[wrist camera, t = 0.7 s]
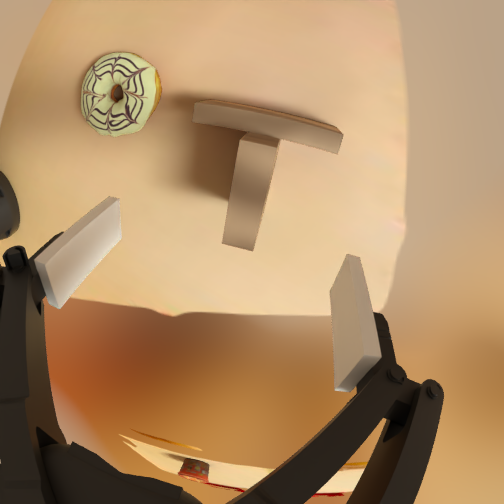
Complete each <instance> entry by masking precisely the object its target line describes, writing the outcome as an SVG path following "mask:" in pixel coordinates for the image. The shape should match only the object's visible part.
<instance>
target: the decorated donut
mask: <svg viewBox="0 0 504 504" xmlns="http://www.w3.org/2000/svg"><path fill="white" fill-rule="evenodd" d="M119 85H121V87H122V90H123V94H124V98H123V99H122V100H119V101H117V100H116V99H115V98H114V91H115V89H116V88H117V86H119ZM161 93H162V87H161V82H160V78H159V75H158V72H157V70H156V69H155V67H153V66H152V65H151V64H150V63H149V62H147V61H146V60H145V59H143V58H142V57H140V56H138V55H136V54H134V53H127V52H118V53H111V54H108V55H105V56H103V57H102V58H100V59H99V60H98V61H97V62H96V63H95V64H94V65H93V66H92V67H91V68H90V70H89V71H88V72H87V74H86V76H85V78H84V81H83V84H82V91H81V111H82V114H83V116H84V117H85V119H86V121H87V123H88V124H89V125H90V126H91V127H92V128H93V129H95V130H96V131H97V132H98V133H99V134H101V135H110V136H112V137H117V136H120V135H125V134H132V133H135V132H138V131H139V130H141V129H142V128H143V126H144V125H145V123H146V121H147V120H148V119H149V118H150V116H151V115H152V113H153V112H154V111H155V109H156V107H157V105H158V103H159V100H160V97H161Z"/></svg>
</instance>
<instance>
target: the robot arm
mask: <svg viewBox="0 0 504 504" xmlns="http://www.w3.org/2000/svg"><path fill="white" fill-rule="evenodd" d="M19 223H20V214H19V207H18V203H17V199H16V196H15V194H14V191H13V189H12V187H11V185H10V183H9V181H8V180H7V178H6V177H5V176H4V175H3V173H1V172H0V240H3V239H6V238H8V237H10V236H11V235H12V234H14V233H15V232H16V231H17V230H18V227H19ZM121 238H122V236H121V221H120V199H119V198H114V197H110V196H109V197H108V198H106V199H105V200H104V201H102V202H101V203H100V204H98V205H97V206H96V207H95V208H93V209H92V210H91V211H90V212H88V213H87V214H86V215H85V216H83V217H82V218H81V219H80V220H78V221H77V222H76V223H75V224H74V225H72V226H71V227H70V228H69V229H68V230H66V231H65V232H61V233H59V234H57V235H55V236H54V237H53V238H52V239H50V240H49V242H47V243H46V244H45V245H44V247H43V246H42V247H41V248H40V249H39V250H38V251H37V252H36V253H35V254H34V255H33V256H32V257H31V258H30V259H28V257H27V254H26V251H25V248H24V247H23V246H14V247H11V248H9V249H8V250H6V252H5V253H4V254H3V256H2V257H3V260H4V262H5V265H6V267H2V266H1V264H0V460H1V464H0V504H202V503H201V502H200V501H199V500H198V499H196V498H195V497H194V496H192V495H191V494H189V493H187V492H185V491H184V490H183V488H182V487H180V486H176V485H173V484H170V483H167V482H163V481H160V480H158V479H154V478H150V477H143V476H136V475H130V474H124V473H121V472H119V471H118V470H117V469H115V468H114V467H113V466H111V465H110V464H109V463H107V462H106V461H105V460H103V459H102V458H101V457H100V456H98V455H97V454H95V453H94V452H91V451H89V450H87V449H86V448H84V447H82V446H80V445H78V444H77V443H74V442H72V443H71V445H69V444H67V443H66V439H65V437H64V435H63V433H62V431H61V429H60V428H59V425H58V422H57V417H56V413H55V408H54V403H53V397H52V392H51V386H50V379H49V371H48V364H47V354H46V342H45V327H44V304H43V301H42V299H43V298H44V297H45V296H46V297H47V300H48V302H49V304H50V305H52V306H54V307H56V308H58V309H60V308H61V307H62V306H63V304H64V303H65V302H66V301H67V300H68V298H69V297H70V296H71V295H72V293H73V292H74V291H75V290H76V289H77V287H78V286H79V285H80V284H81V283H82V281H83V280H84V279H85V278H86V277H87V276H88V275H89V273H90V272H91V271H92V270H93V269H94V268H95V267H96V265H97V264H98V263H99V262H100V261H101V260H102V259H103V258H104V257H105V255H106V254H107V253H108V252H109V251H110V250H111V249H112V248H113V247H114V246H115V245H116V244H117V243H118V241H119V240H120V239H121ZM330 301H331V315H332V331H333V350H334V351H333V352H334V386H335V387H334V388H335V390H336V391H345V392H351V391H352V390H353V389H354V388H355V386H356V387H357V394H356V395H355V396H354V397H353V398H352V399H351V400H350V401H349V402H348V403H347V404H346V406H345V407H344V408H343V409H342V410H341V411H340V412H339V413H338V414H337V415H336V416H335V417H334V418H333V419H332V420H331V421H330V422H329V423H328V424H327V425H326V426H325V427H324V428H323V429H322V430H320V432H318V433H317V434H316V435H315V436H314V437H313V438H312V439H311V440H310V441H308V442H307V443H306V444H305V445H304V446H303V447H302V448H301V449H299V450H298V451H297V452H296V453H295V454H294V455H292V456H291V457H290V458H289V459H288V460H286V461H285V462H284V463H283V464H281V465H280V466H279V467H278V468H276V469H275V470H274V471H272V472H271V473H270V474H269V475H267V476H266V477H265V478H263V479H262V480H261V481H259V482H258V483H256V484H255V485H254V486H252V487H251V488H249V489H248V490H246V491H245V492H243V493H242V494H240V495H239V496H237V497H235V498H234V499H232V500H231V501H229V502H227V503H226V504H304V503H305V502H306V501H307V500H308V499H310V498H311V497H312V496H313V495H314V494H315V493H316V492H317V491H318V490H319V489H320V488H321V487H322V486H324V485H325V484H326V483H327V482H328V481H329V480H330V479H331V478H332V477H333V476H334V475H335V474H336V473H337V471H338V470H339V469H340V468H341V467H342V466H343V465H344V464H345V463H346V462H347V461H348V460H349V459H350V457H351V456H352V455H353V454H354V453H355V452H356V451H357V449H358V448H359V447H360V446H361V445H362V444H363V442H364V441H365V440H366V439H367V438H368V436H369V435H370V434H371V433H372V431H373V430H374V429H375V428H376V426H377V425H378V424H379V422H380V421H381V420H382V418H386V419H387V420H386V423H385V425H384V428H383V430H382V433H381V435H380V437H379V440H378V442H377V444H376V447H375V449H374V451H373V453H372V456H371V458H370V460H369V462H368V464H367V466H366V468H365V470H364V472H363V474H362V476H361V478H360V480H359V482H358V483H357V485H356V487H355V489H354V491H353V493H352V495H351V496H350V498H349V500H348V501H347V503H346V504H413V503H414V501H415V499H416V496H417V493H418V491H419V488H420V486H421V483H422V480H423V477H424V474H425V471H426V468H427V465H428V462H429V458H430V455H431V452H432V448H433V444H434V441H435V437H436V433H437V429H438V424H439V419H440V415H441V410H442V405H443V399H444V392H443V389H442V387H441V386H440V384H439V383H437V382H436V381H435V380H432V379H428V380H426V381H424V382H423V383H422V384H419V383H417V382H414V381H412V380H409V379H408V378H407V375H406V373H405V371H404V370H403V368H402V367H401V366H399V365H398V364H397V363H396V358H395V354H394V349H393V344H392V340H391V335H390V333H389V327H388V323H387V321H386V319H385V318H384V316H383V315H382V314H380V313H376V312H373V310H372V305H371V301H370V296H369V292H368V288H367V284H366V280H365V276H364V272H363V268H362V264H361V260H360V257H357V256H353V255H350V254H347V255H346V257H345V260H344V262H343V264H342V266H341V268H340V271H339V273H338V275H337V277H336V279H335V281H334V284H333V286H332V288H331V290H330Z"/></svg>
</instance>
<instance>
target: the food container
mask: <svg viewBox="0 0 504 504" xmlns="http://www.w3.org/2000/svg"><path fill="white" fill-rule="evenodd" d="M208 473H209V464H207V463H205V462H202V461H199V460H195V459H185V461H184V463H183V465H182V467H181V469H180V472H178V474H179V476H181V477H183V478H186V479H189V480H192V481H196V482H201V483H207V482H209V481H208Z"/></svg>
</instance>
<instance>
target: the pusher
mask: <svg viewBox="0 0 504 504" xmlns="http://www.w3.org/2000/svg"><path fill="white" fill-rule="evenodd" d="M192 122H194V123H201V124H208V125H214V126H220V127H225V128H231V129H236V130H241V131H246V132H247V133H246V134H245V135H244V136H243V137H242V138H241V139H240V142H239V147H238V152H237V158H236V163H235V169H234V174H233V180H232V186H231V192H230V198H229V203H228V209H227V215H226V222H225V228H224V234H223V240H222V244H225V245H230V246H234V247H238V248H242V249H246V250H250V251H253V249H254V246H255V242H256V238H257V235H258V231H259V227H260V224H261V220H262V216H263V213H264V209H265V204H266V200H267V196H268V192H269V187H270V183H271V179H272V175H273V170H274V166H275V162H276V158H277V153H278V149H279V145H280V141H281V139H283V140H287V141H291V142H295V143H299V144H302V145H306V146H310V147H313V148H317V149H321V150H324V151H328V152H331V153H334V154H338V152H339V149H340V145H341V142H342V139H343V134H342V133H341V131H340V130H339V129H338V128H337V127H334V126H331V125H327V124H324V123H321V122H317V121H313V120H310V119H306V118H302V117H298V116H294V115H290V114H286V113H282V112H277V111H273V110H268V109H263V108H258V107H253V106H248V105H243V104H237V103H231V102H225V101H218V100H211V99H209V100H204V101H199V102H195V105H194V111H193V118H192Z"/></svg>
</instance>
